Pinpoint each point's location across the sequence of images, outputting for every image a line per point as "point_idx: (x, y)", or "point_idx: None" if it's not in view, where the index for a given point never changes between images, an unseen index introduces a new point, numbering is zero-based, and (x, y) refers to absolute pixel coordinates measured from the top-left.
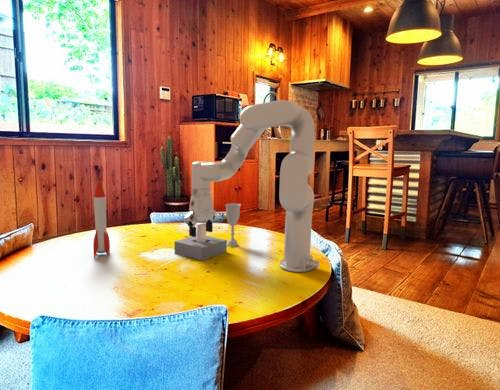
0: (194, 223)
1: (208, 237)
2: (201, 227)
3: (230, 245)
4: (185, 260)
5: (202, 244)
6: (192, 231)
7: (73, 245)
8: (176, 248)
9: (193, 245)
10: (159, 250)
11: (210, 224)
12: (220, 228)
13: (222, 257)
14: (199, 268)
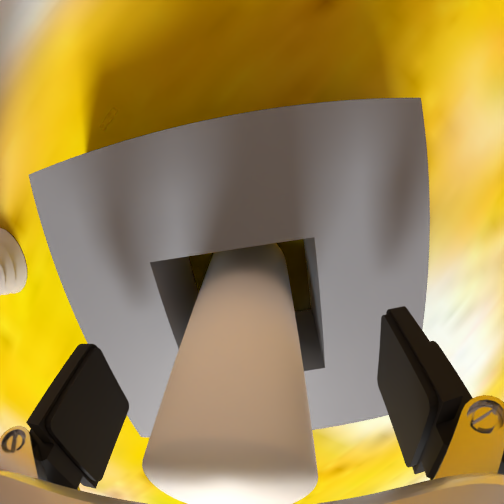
0: (488, 454)
1: (123, 352)
2: (277, 412)
3: (14, 248)
4: (440, 199)
5: (326, 201)
6: (448, 364)
7: None
8: None
9: (413, 236)
10: (389, 420)
11: (62, 421)
12: None
13: (192, 63)
14: (459, 23)
